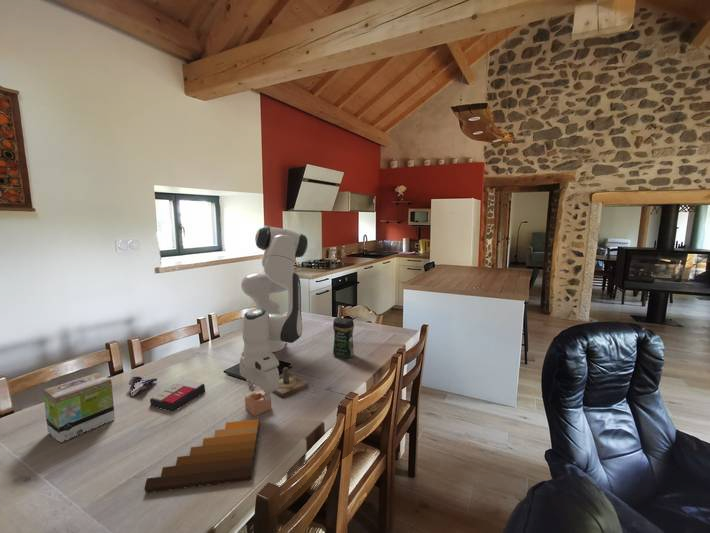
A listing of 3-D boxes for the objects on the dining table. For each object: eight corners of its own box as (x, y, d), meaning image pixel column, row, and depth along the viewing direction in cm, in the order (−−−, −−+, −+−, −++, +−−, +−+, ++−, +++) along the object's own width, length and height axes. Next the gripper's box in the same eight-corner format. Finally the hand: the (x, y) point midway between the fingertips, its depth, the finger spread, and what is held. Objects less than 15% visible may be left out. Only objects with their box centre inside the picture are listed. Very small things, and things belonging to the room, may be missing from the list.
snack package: (115, 394, 135) (137, 399, 131) (115, 377, 135) (137, 381, 131) (143, 385, 146) (164, 389, 142) (144, 369, 146) (165, 373, 142)
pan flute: (145, 496, 87) (250, 483, 91) (143, 483, 86) (250, 471, 90) (177, 434, 111) (259, 425, 115) (176, 424, 110) (259, 416, 115)
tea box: (60, 444, 105) (54, 398, 103) (47, 433, 110) (41, 389, 108) (116, 420, 118) (111, 378, 116) (102, 411, 123) (97, 370, 121)
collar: (245, 408, 124) (244, 396, 124) (261, 401, 129) (261, 390, 128) (254, 415, 120) (254, 403, 119) (271, 408, 125) (270, 396, 124)
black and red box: (148, 397, 126) (182, 377, 139) (150, 408, 126) (184, 387, 140) (172, 403, 122) (204, 382, 135) (173, 414, 123) (205, 392, 136)
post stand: (264, 386, 140) (264, 367, 139) (290, 376, 148) (289, 358, 147) (282, 397, 132) (281, 377, 130) (308, 386, 140) (307, 367, 139)
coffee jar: (330, 356, 169) (330, 319, 166) (339, 351, 176) (338, 314, 173) (348, 360, 165) (348, 322, 162) (356, 354, 171) (356, 317, 169)
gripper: (233, 351, 126) (236, 388, 128) (265, 368, 112) (267, 409, 114) (249, 347, 131) (251, 382, 133) (282, 362, 117) (283, 401, 119)
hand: (259, 394), depth 123 cm, fingers open, 8 cm apart
